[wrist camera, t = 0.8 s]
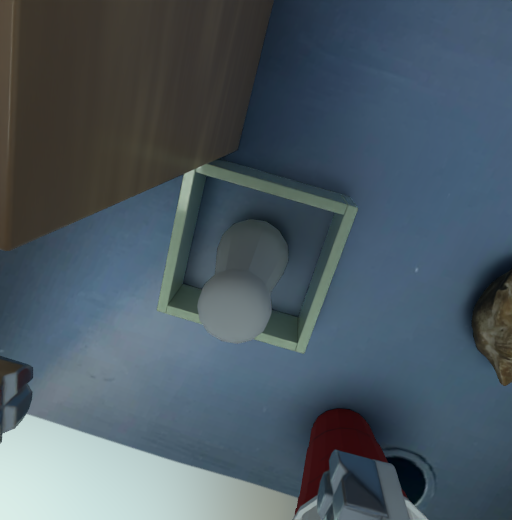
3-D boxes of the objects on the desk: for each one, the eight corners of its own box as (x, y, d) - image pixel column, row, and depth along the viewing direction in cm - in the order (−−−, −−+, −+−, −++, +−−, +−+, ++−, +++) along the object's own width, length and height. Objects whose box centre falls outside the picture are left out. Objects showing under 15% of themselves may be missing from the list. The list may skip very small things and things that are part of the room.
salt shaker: (257, 198, 32) (232, 245, 20) (303, 247, 33) (306, 320, 21) (209, 243, 34) (159, 312, 21) (254, 288, 35) (231, 378, 22)
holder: (173, 288, 35) (156, 311, 31) (201, 153, 31) (186, 158, 27) (303, 326, 35) (304, 354, 31) (350, 196, 31) (358, 208, 27)
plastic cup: (420, 423, 38) (473, 551, 26) (349, 485, 41) (369, 621, 30) (332, 365, 36) (348, 472, 25) (267, 434, 40) (256, 555, 29)
